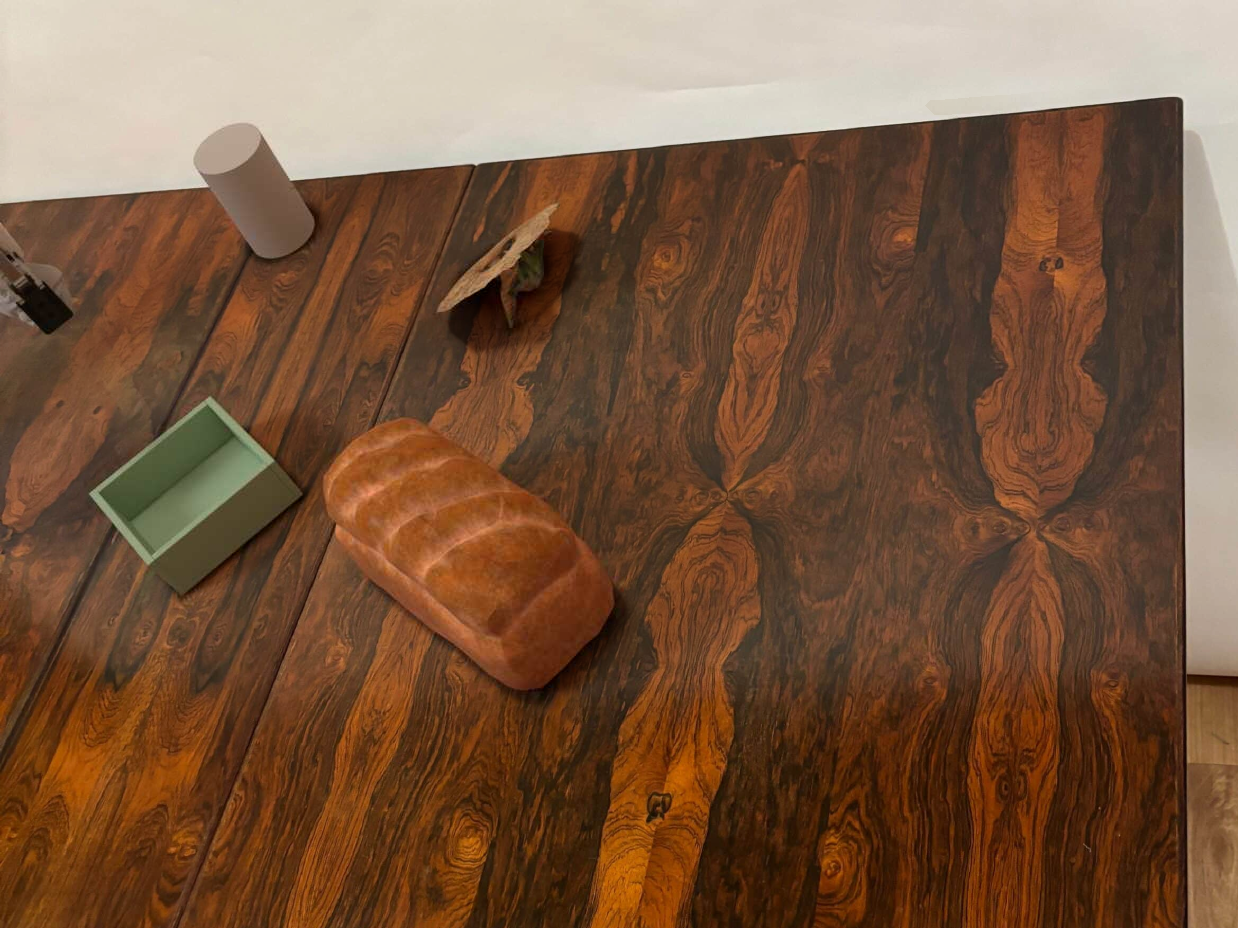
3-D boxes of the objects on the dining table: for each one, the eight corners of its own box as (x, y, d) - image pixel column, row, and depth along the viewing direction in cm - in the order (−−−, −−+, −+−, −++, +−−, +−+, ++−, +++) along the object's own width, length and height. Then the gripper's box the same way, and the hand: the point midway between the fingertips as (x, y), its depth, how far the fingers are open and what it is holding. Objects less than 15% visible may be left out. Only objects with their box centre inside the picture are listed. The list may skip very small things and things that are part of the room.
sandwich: (493, 298, 135) (459, 236, 131) (600, 256, 129) (568, 189, 125) (439, 372, 122) (399, 306, 118) (555, 329, 116) (517, 258, 112)
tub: (182, 595, 116) (147, 565, 111) (123, 525, 123) (88, 493, 118) (303, 494, 119) (274, 460, 114) (239, 430, 125) (209, 395, 120)
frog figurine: (23, 318, 114) (-30, 263, 108) (88, 287, 114) (38, 230, 107) (28, 358, 110) (-26, 304, 104) (95, 326, 110) (44, 270, 104)
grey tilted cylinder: (326, 213, 139) (274, 126, 129) (291, 262, 136) (234, 178, 126) (275, 205, 142) (219, 119, 132) (239, 253, 140) (180, 169, 129)
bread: (529, 713, 101) (460, 625, 87) (349, 567, 113) (264, 469, 100) (636, 599, 104) (586, 496, 90) (449, 468, 116) (380, 361, 102)
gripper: (-181, 138, 98) (-23, 296, 114) (-110, 216, 90) (51, 374, 106) (-107, 85, 100) (39, 248, 115) (-30, 157, 91) (116, 322, 107)
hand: (43, 307), depth 110 cm, fingers closed on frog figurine, 6 cm apart
